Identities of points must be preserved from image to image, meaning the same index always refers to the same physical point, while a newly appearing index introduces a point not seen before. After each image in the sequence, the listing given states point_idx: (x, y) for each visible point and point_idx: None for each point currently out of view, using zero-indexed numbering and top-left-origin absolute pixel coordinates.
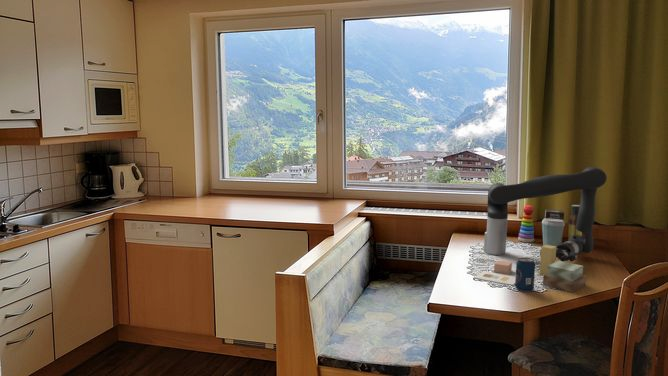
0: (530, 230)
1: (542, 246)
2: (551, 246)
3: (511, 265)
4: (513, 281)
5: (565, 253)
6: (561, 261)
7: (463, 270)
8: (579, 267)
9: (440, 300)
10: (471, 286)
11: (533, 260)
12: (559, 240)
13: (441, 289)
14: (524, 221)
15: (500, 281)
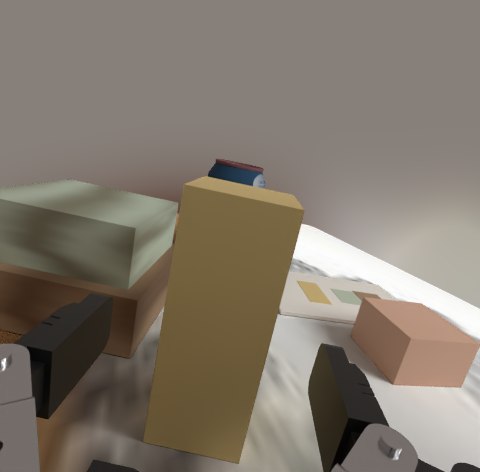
0: None
1: (289, 195)
2: (229, 189)
3: (398, 348)
4: None
5: (6, 402)
6: (114, 221)
7: (472, 326)
8: (15, 187)
9: (308, 227)
10: (328, 257)
11: (218, 161)
12: None
13: (348, 246)
14: None
15: (305, 276)
